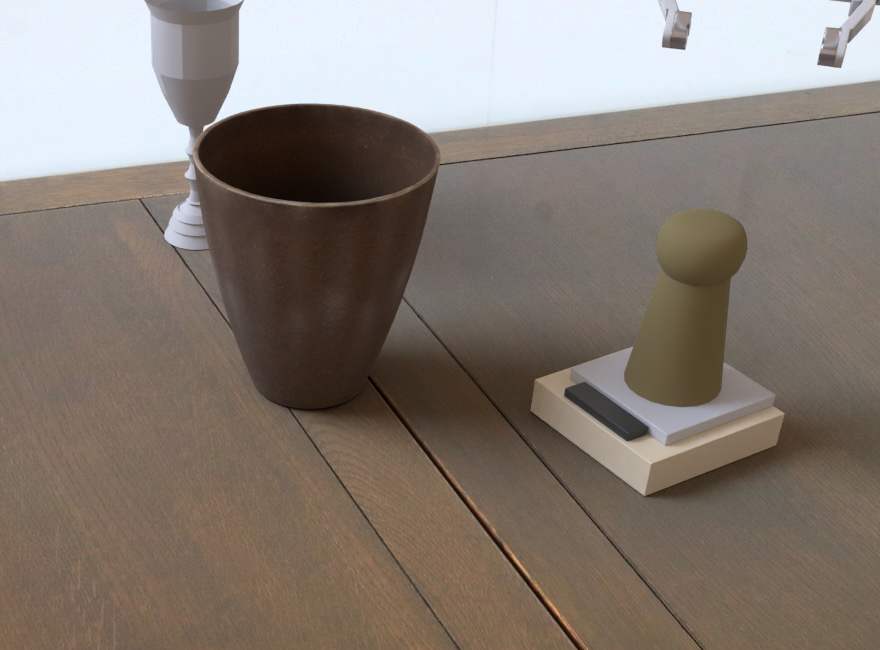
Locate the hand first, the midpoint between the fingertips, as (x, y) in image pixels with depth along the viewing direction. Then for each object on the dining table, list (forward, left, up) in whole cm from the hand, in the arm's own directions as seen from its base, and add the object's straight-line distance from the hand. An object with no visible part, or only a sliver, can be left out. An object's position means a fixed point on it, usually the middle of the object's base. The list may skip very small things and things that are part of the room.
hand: (750, 53), depth 97 cm
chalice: (+23, -30, -20) cm, 42 cm away
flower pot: (+27, -8, -20) cm, 34 cm away
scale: (+11, +8, -19) cm, 24 cm away
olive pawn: (+10, +8, -16) cm, 21 cm away
